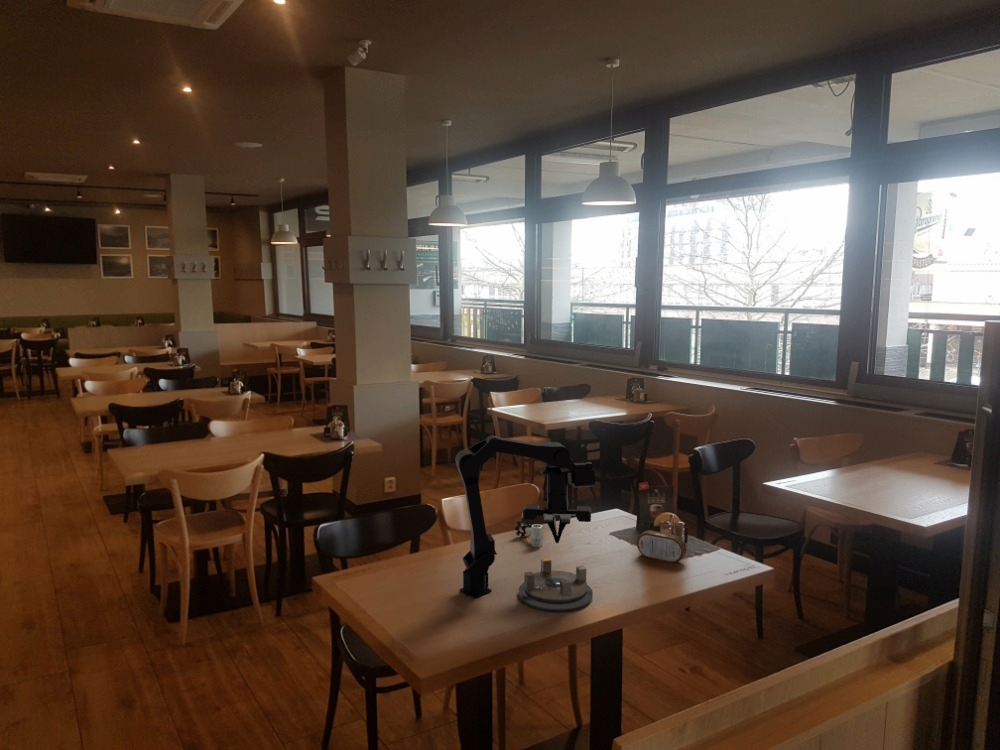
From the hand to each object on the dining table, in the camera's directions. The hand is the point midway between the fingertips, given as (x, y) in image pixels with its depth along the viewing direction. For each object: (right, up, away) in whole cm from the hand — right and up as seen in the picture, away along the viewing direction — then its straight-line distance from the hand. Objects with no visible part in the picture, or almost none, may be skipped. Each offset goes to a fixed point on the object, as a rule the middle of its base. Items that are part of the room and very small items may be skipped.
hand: (557, 542), depth 195 cm
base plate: (-1, -13, -6) cm, 14 cm away
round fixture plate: (-1, -11, -6) cm, 13 cm away
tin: (+34, -10, +20) cm, 40 cm away
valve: (-6, -9, +36) cm, 37 cm away
